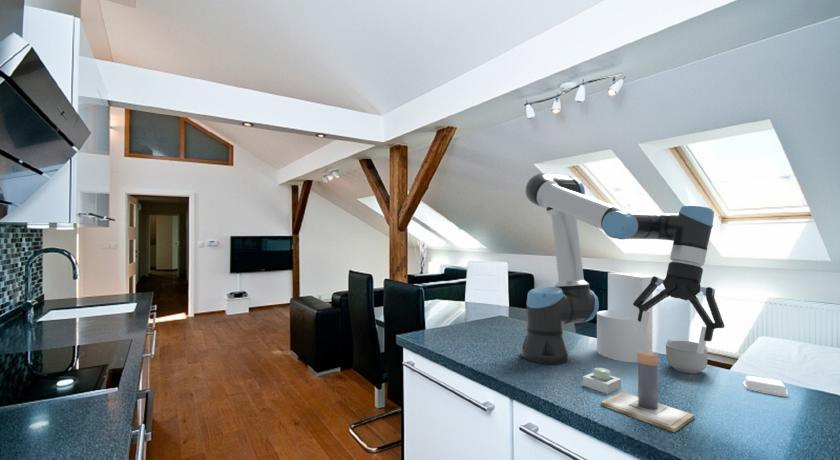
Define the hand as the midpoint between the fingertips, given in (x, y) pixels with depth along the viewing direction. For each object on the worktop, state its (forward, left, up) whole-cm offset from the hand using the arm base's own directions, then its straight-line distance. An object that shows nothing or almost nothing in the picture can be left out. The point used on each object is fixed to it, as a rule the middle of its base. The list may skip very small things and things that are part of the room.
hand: (669, 343), depth 100 cm
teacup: (-6, +27, -14) cm, 31 cm away
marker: (+1, -14, -12) cm, 19 cm away
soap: (+13, +27, -14) cm, 33 cm away
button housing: (-13, -9, -13) cm, 21 cm away
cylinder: (-24, +26, -14) cm, 38 cm away
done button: (-13, -9, -12) cm, 20 cm away
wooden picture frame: (+1, -15, -13) cm, 20 cm away
